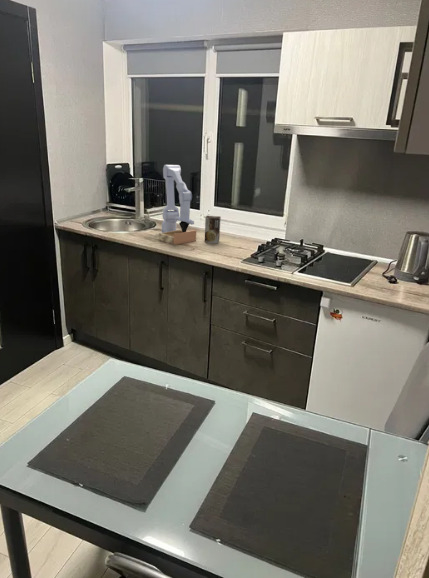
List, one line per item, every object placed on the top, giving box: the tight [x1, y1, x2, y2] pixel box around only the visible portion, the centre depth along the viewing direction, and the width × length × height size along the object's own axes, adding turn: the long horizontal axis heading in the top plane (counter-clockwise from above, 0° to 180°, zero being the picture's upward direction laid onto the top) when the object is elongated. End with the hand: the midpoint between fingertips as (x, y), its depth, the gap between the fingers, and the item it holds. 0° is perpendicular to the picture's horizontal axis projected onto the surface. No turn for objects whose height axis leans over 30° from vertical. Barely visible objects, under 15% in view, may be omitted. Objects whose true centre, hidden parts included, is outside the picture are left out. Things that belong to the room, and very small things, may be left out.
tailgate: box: [172, 229, 197, 245], centre depth 261 cm, size 1×18×6 cm, turn 137°
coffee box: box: [204, 215, 222, 244], centre depth 266 cm, size 9×6×16 cm
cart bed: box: [158, 229, 187, 245], centre depth 266 cm, size 13×18×4 cm
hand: (184, 233), depth 261 cm, fingers closed
